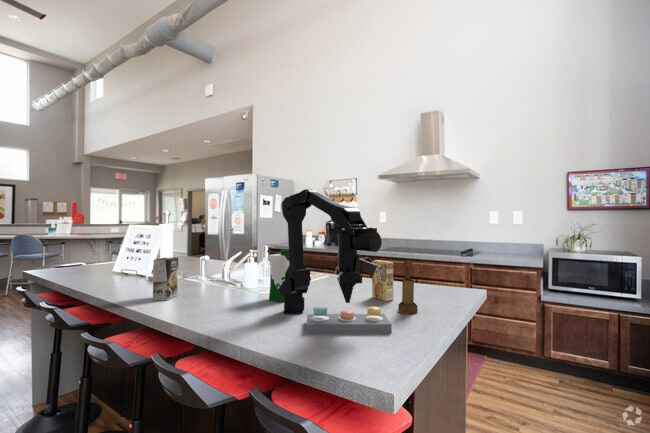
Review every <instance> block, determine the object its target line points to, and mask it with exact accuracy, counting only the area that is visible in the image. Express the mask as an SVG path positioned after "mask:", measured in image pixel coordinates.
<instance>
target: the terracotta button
mask: <svg viewBox="0 0 650 433" xmlns="http://www.w3.org/2000/svg"><path fill="white" fill-rule="evenodd" d="M340 314H341V318H342V319H353V318H354V314H355V311H354V310H349V309H343V310H341V311H340Z"/></svg>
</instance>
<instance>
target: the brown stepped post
mask: <svg viewBox="0 0 650 433" xmlns="http://www.w3.org/2000/svg"><path fill="white" fill-rule="evenodd" d="M403 266H404V269H405V272H404V277H405V278H403V279H402V278H401V279H402V283H401V284H402V287H401V289H402V291H401V292H402V293H401V294H402V295H401V298H402V299H401V302H400V303H398V307H397V308H398V309H397V310H398V312H399V313H402V314H408V315H410V314H411V315H412V314H413V315H414V314H417V313H418V305H417V304H416V303H415V301H414V294H415V292H414V291H415V290H414V288H415V286H414V285H415V281H414V279H412V278H411V276H412V272H411V269H412V268H413V262H412V260H411V259H406V260H404V262H403Z"/></svg>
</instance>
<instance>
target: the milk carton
mask: <svg viewBox="0 0 650 433" xmlns="http://www.w3.org/2000/svg"><path fill="white" fill-rule="evenodd" d="M268 260H269V269H270V270H269V271H270V273H269V274H270V278H269V279H270V280H269V282H270V284H269V297H268V300H269V301H274V302H279V303H284V295H280V292H279V288H280V286H281V285H282V284H283V282H284V281H285V273H286V271H287V269H288V267H289V249H280V253H275V254H268Z"/></svg>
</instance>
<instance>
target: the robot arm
mask: <svg viewBox="0 0 650 433" xmlns="http://www.w3.org/2000/svg"><path fill="white" fill-rule="evenodd" d="M312 206H313V207H314V208H317V209H318V210H320V211H321V212H323V213H325V214H327V215H328V216H329V218H330V219H331V221H332V222H333V223H334V224H335V225H336V226H337V228H336V229H334V231H332V234H333V235H337V236H338V237H337V238H338V239H337V242H338V244H337V248H338V249H337V251H338V252H337V257H338V258H337V260H338V261H337V266H335V275H337V276H338V277H336V279H337V281H338V285H339V287H340V290H341V292H342V296H343V298H344V301H345V303H346V304H350V303H351V299H352V294H353V290H354V287H355V286H356V285H358V284H363V276H362V274H361V273H360V271H362V272H365V273H367V274H369V276H370V275H371V276H372V275H373V276H374V273H375V271H376V268H377V265H376V264H374V263H372V258H369V257H367V256H365V257H364V258H360V254H359V253H358V251H359V252H366V253H368V252H369V253H377V252H379V251H380V249H381V248H382V242H383V241H382V238H381V235H380V234H379V232H378V228H377V227H368V226H367V224H366V222H365V221H364V219H363V217H362V215H361V211H360V210H359V209H358V208H355V207H352V206H348V205H344V204H343V205H342V204H339V203H338V202H336V201H334V200H332V199H330V198H328V197H326V196H324V195H323V194H321V193H320V192H318V191H316V190H315V189H308V188H305V189H303V190H301V191H299V192H296V193H294V194H292V195H289V196H287V197H285V198H284V199H283V201H281V211H282V216H283V218H284V220H285V221H286V223H287V233H288V234H287V238H288V241H287V242H288V250H289V267H288V269H287V271H286V273H285V281H284V282H283V284H282V285H281V286H280V288H279V292H280V295H284V302H283V314H285V315H286V314H289V315H292V314H293V315H294V314H296V315H297V314H299V315H300V314H301V315H302V314H303V312H304V311H305V297H304V294H307V293H308V290H309V286H310V285H311V281H312V279H311V278H312V277H311V269H310V268H308V267H306V265H305V261H304V256H305V255H304V236H303V234H304V233H303V221H304V219H305V218H306V215H307V209H309V208H311V207H312Z"/></svg>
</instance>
